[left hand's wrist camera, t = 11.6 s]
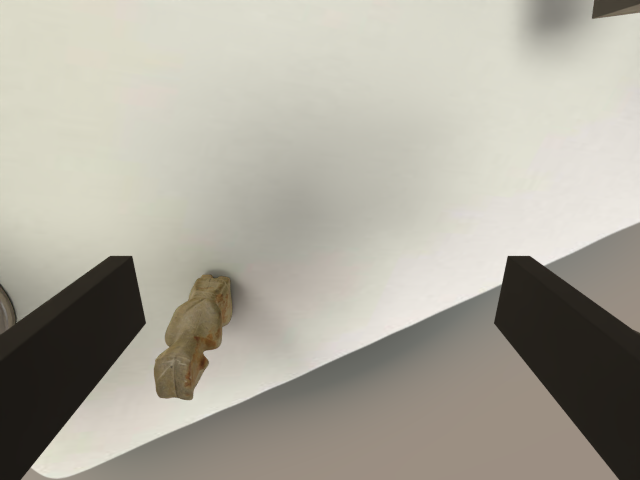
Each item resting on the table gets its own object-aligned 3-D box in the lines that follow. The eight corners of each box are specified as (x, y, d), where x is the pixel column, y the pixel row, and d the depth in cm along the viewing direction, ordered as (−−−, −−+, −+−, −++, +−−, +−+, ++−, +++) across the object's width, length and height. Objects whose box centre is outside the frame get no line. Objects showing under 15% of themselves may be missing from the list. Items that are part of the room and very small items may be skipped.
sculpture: (192, 313, 47) (138, 402, 33) (195, 264, 44) (138, 338, 30) (236, 320, 47) (201, 411, 33) (242, 272, 45) (207, 348, 31)
